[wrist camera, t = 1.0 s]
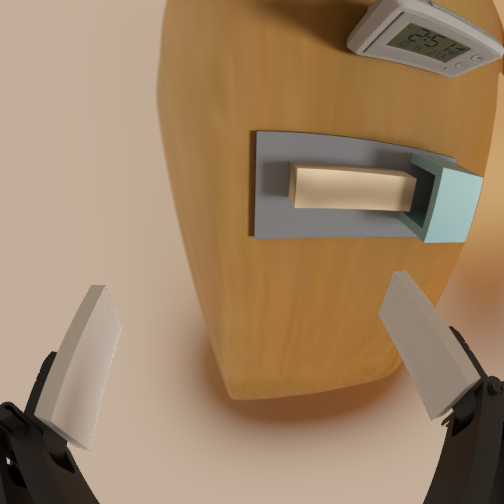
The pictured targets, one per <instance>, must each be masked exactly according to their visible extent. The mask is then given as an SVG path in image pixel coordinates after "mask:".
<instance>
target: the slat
mask: <svg viewBox="0 0 504 504" xmlns="http://www.w3.org/2000/svg"><path fill="white" fill-rule="evenodd" d="M416 180H417V179H416V178H414V177H413V176H411V175H409V174H407V173H406V172H404V171H400V170H392V169H385V168H377V167H368V166H358V165H347V164H335V163H321V162H302V161H291V163H290V179H289V193H288V198H289V199H290V201H291V203H292V205H293V206H294V208H335V209H368V210H391V211H410V207H411V203H412V199H413V194H414V190H415V185H416Z"/></svg>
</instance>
